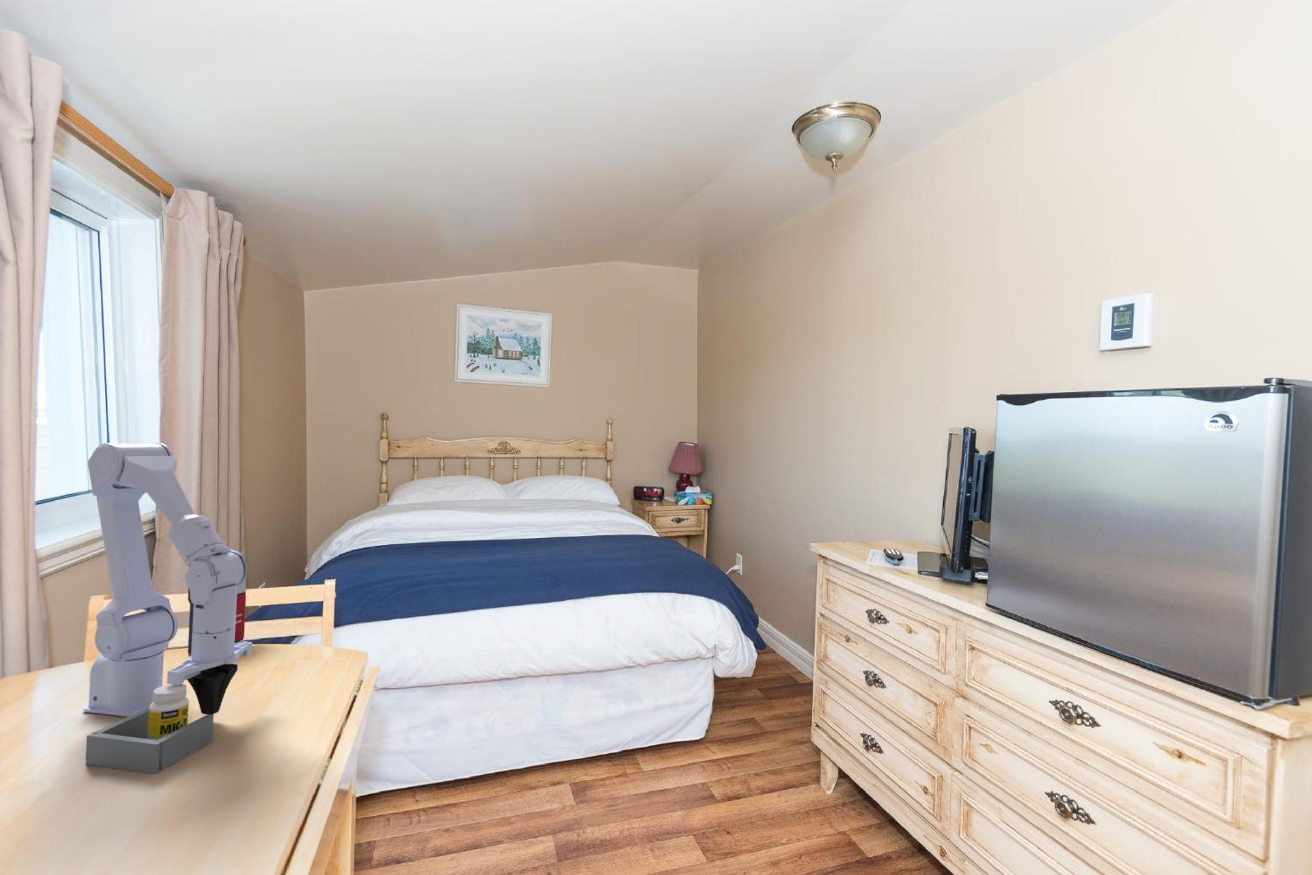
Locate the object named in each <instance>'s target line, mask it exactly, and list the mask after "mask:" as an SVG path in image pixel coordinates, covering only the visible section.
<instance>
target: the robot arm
mask: <svg viewBox="0 0 1312 875" xmlns="http://www.w3.org/2000/svg"><path fill="white" fill-rule="evenodd" d="M177 463H178V461H177V459H176V457H175V456H174V454H173V452H172V449H171V448H170V447H169V446H168V445H167V444H165V443H161V442H155V443H111V442H105V443H102V444H99V445H98V446H97V447H96V448H95V450H94V451H93V452H92V454H91V456H90V457H89V459H88V460H87V467H88V474H89V479H90V486H91V492H92V495H93V496H95V497H96V503H97V508H98V516H99V522H100V528H101V534H102V540H103V546H104V552H105V558H106V564H107V565H106V566H107V570H108V576H109V577H108V578H109V583H110V589H111V594H112V600H111V601H109V602H108V604H106V605H105V606H104V607H103V608H102V609H101V610H100V611H98V613H97V614H96V615H95V618H96V630H95V633H94V634H95V635H94V644H95V648H96V649H97V651H98V652H99V653H100V654H101V655H99V656H98V657H96V659H95V661H94V662H93V664H92V665H91V669H90V672H89V687H88V689H89V691H88V692H89V693H88V706H85V707H84V708H82V710H83V712H85V713H95V714H100V715H101V714H102V715H103V714H104V715H109V716H118V717H125V718H127V717H129V716H131V715H134V714H136V713H138V712H140V711H142V710H145V709H147V708H149V706H150V705H151V704H152V703H153V691H154V690H155V689H156V688H158V687H161V686H163V678H164V676H163V675H164V674H163V673H164V657H165V656H164V653H165V650H166V649H167V648H169V642H171V641H172V640H173V639H175V637H176V635H177V632H178V628H179V622H178V621H179V620H178V617H177V616H176V614H175V612H174V611H173V609H172V606H171V602H170V601H171V600H170V598H168V597H167V596H166V595H163V594H160V593H159V592H157V591H155V590H154V587H153V581H152V575H151V569H150V563H149V558H148V552H147V546H146V540H145V534H144V526H143V521H142V516H141V510H140V505H139V503H140V502H139V501H140V499H142V497H143V496H144V494H146V493H147V495H148V496H149V498H150V499H151V500H152V502H153V503H154V504H155V505H156V506H157V508H158V509H159V511H160V512H162V514H163V516H164V517H165V518H166V519H167V521H168V522H169V523H170V524H171V526H170V529H169V530H168V534H167V536H168V537H169V539H170V541H171V542H172V545H173V546H174V548H175V549H176V551H177V552H178V554H179V556H180V557H181V558H182V560H183V561H184V563H185V565H186V567H187V568H188V569H187V572H186V573H184V578H185V583H186V585H187V588H189V590H190V599H191V602H192V603H194V609H193V629H192V649H191V654H190V657H189V658H187V659H186V660H184V661H183V662H181V663H180V664H179V665H177V666H176V667H174V668H172V669H169V670H167V676H166V685H169V684H173V685H180V684H184V682H185V681H188V683H189V685H190V686H191V687H192V689H193V691H194V693H195V696H196V698H197V702H198V706H199V710H200V713H201V714H202V715H207V714H210V715H215V714H217V713H219V711H220V709H221V706H222V702H223V700H224V697H225V694H226V692H227V689H228V686H229V685H230V683H231V681H232V679H233V677H234V676H235V675H236V673H237V672H238V667H239V666H238V664H236V662H238V661H239V657H242V656H248V655H251V654H253V642H252V641H243V640H241V641H239V642H236V643H234V642H235V624H236V603H237V585H239V584H241V583H242V582H243V581H244V579H245V577H246V578H247V573H248V565H247V562H246V560H245V558H244V555H243V554H242V553H241V552H239V551H238V550H233V549H232V548H231V546H226V545H225V543H224V542H223V541H222V539H221V537H220V536H219V534H218V533H217V531H216V530H215V528H214V527H213V525H212V523H211V521H210V520H209V518H208V517H207V516H205V515H199V514H196V513H195V511H194V509H193V508H192V505H191V504H190V502H189V499H188V498H187V496H186V494H185V492H184V490H183V488H182V486H181V484H180V482H179V480H178V478H177V476H176V470H177V465H178V464H177ZM140 610H143V611H142V612H137V613H134V614H130V615H129V613H131V612H135V611H140ZM127 614H128V615H127ZM125 615H126V616H125Z"/></svg>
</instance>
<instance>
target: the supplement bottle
mask: <svg viewBox="0 0 1312 875" xmlns="http://www.w3.org/2000/svg"><path fill="white" fill-rule="evenodd" d="M186 696H187V685H186V684H184V683H182V684H180V685H173V684H166V685H162V686H161V687H158V688H156V689H155V690H154V691H153V703H152V704H151V705H150V706H149V715H148V731H147V738H146V739H151V740H158V739H160V738H162V737H164V736H166V735H168V734H170V733H172V732H174V731H176V730H178V729H180V728H182V727H184V726H186V725H188V724H189V723H188V722H189V720H188V719H189V705H190V704H189V702H190V701H189V698H188V697H186Z"/></svg>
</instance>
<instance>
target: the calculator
mask: <svg viewBox="0 0 1312 875" xmlns="http://www.w3.org/2000/svg"><path fill="white" fill-rule="evenodd" d="M187 588H188V587H187ZM187 590H188V591H187V601H188V603H189V620H188V640H187V643H188V644H187V653H188V654H189V655H191V649H192V629H193V609H194V603H192V602H191V599H190V590H189V588H188V589H187ZM246 591H247V576H246V577H245V579H244V581H243V582H242V583H241V584H239V585H237V603H236V624H235V642H234V644H236V643H239V642H242V641H243V640H244V638H245V626H246V625H245V624H246V620H245V619H246V608H247V607H246V606H247V605H246V603H247V593H246Z"/></svg>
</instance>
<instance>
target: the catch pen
mask: <svg viewBox="0 0 1312 875" xmlns="http://www.w3.org/2000/svg"><path fill="white" fill-rule="evenodd" d="M148 715H149V708H147V709H145V710H142V711H140V712H138V713H136V714H134V715H131V716H129V717H125V718H123V719H120V720H119V721H115V722H114V723H111V724H109V725H107V726H105V727H103V728H100V729H98V730H96V731H94V732H92V733H90V734H87V735H86V746H85V747H86V748H85V765H88V766H89V765H90V766H97V767H103V768H104V767H105V768H109V769H110V768H111V769H118V770H124V771H132V772H133V771H134V772H142V773H148V774H154V775H155V774H157V773H159V772H161V771H163V770H164V769H166V768H168V767H170V766H171V765H173V764H175V763H177V762H179V761H180V760H182V759H184V758H185V757H187V756H189V755H190V754H193V753H194V752H196V751H198V750H200V749H201V748H203V747H205V746H206V745H208V744H210V743H212V742H213V740H214V739H213V737H214V736H213V734H214V715H215V714H213V715H210V714H204V716H202V717H199V718H197V719H196V720H194V721H192V722H190V723H187V725H186V726H184V727H182V728H180V729H178V730H176V731H174V732H172V733H170V734H168V735H166V736H164V737H162V738H160V739H158V740H151V739H147V731H148Z"/></svg>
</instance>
